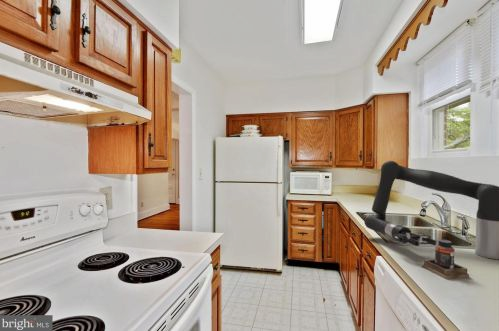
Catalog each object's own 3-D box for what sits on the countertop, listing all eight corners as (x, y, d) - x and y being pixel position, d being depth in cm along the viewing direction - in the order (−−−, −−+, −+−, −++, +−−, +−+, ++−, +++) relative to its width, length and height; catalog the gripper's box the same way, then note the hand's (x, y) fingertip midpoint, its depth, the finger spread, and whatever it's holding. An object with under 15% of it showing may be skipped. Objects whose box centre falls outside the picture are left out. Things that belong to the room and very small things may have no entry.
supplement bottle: (457, 273, 93) (458, 244, 93) (439, 271, 94) (440, 242, 94) (448, 266, 99) (449, 239, 99) (431, 265, 100) (432, 237, 100)
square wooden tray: (442, 265, 102) (443, 258, 102) (469, 277, 92) (469, 269, 92) (421, 266, 101) (421, 259, 101) (446, 279, 90) (446, 271, 90)
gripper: (385, 225, 119) (412, 235, 103) (410, 224, 121) (441, 234, 105) (384, 240, 119) (412, 253, 103) (409, 239, 121) (440, 251, 106)
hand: (426, 243), depth 104 cm, fingers open, 8 cm apart
